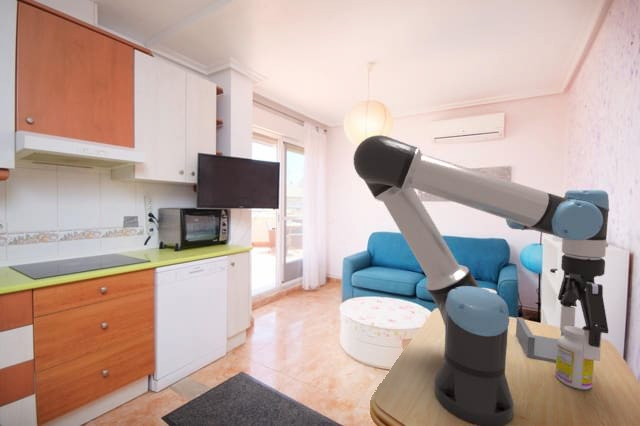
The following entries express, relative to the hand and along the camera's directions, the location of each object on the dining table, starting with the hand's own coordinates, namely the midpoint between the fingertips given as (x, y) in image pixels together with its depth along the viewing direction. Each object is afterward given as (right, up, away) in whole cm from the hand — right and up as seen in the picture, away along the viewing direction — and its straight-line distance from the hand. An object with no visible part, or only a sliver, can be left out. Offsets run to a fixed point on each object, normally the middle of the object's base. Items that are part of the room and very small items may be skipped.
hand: (577, 344), depth 69 cm
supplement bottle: (-1, -10, +1) cm, 10 cm away
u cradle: (+5, -8, +15) cm, 18 cm away
